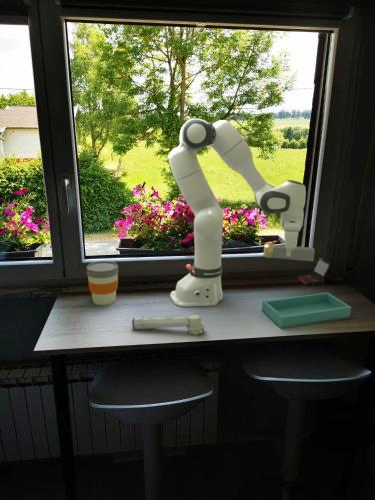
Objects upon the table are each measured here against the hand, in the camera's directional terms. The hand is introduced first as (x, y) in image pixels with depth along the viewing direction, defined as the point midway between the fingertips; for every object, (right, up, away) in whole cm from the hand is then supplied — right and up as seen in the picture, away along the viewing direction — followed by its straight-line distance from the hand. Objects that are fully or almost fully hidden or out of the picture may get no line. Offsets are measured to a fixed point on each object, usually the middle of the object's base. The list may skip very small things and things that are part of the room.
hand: (288, 253), depth 151 cm
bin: (+4, -23, -10) cm, 26 cm away
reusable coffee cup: (-76, -19, 0) cm, 78 cm away
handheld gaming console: (+18, -13, +24) cm, 33 cm away
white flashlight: (-48, -27, -22) cm, 60 cm away
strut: (+1, -2, 0) cm, 2 cm away
